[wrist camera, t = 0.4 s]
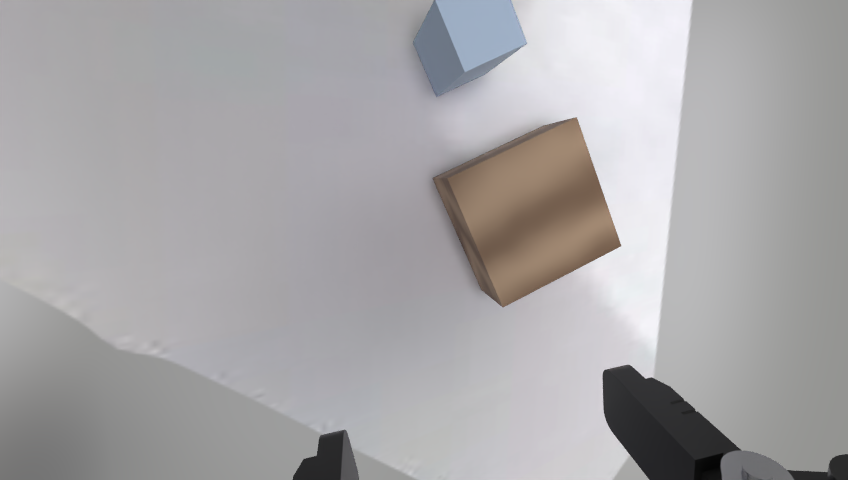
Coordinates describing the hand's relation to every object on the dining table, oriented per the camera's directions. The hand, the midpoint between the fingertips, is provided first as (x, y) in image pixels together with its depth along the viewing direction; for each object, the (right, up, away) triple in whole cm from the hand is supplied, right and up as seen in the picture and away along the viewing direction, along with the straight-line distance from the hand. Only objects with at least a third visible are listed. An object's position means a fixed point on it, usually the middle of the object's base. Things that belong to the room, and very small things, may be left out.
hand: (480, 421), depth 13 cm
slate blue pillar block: (+1, +22, +25) cm, 33 cm away
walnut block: (+7, +9, +28) cm, 30 cm away
